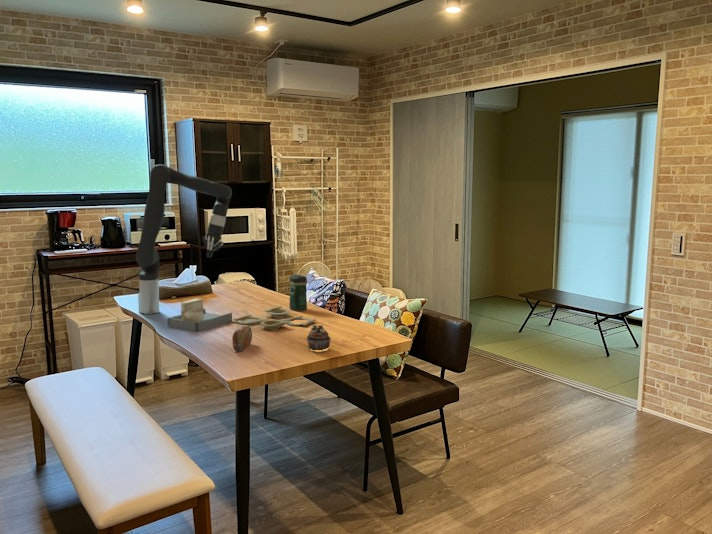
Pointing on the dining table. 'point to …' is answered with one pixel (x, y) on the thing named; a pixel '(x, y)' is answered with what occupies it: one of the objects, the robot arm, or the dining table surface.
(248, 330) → the brown flat stone
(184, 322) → the grey tray
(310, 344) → the cupcake
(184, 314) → the birch block
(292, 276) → the coffee jar
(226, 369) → the dining table surface
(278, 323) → the tableware set
